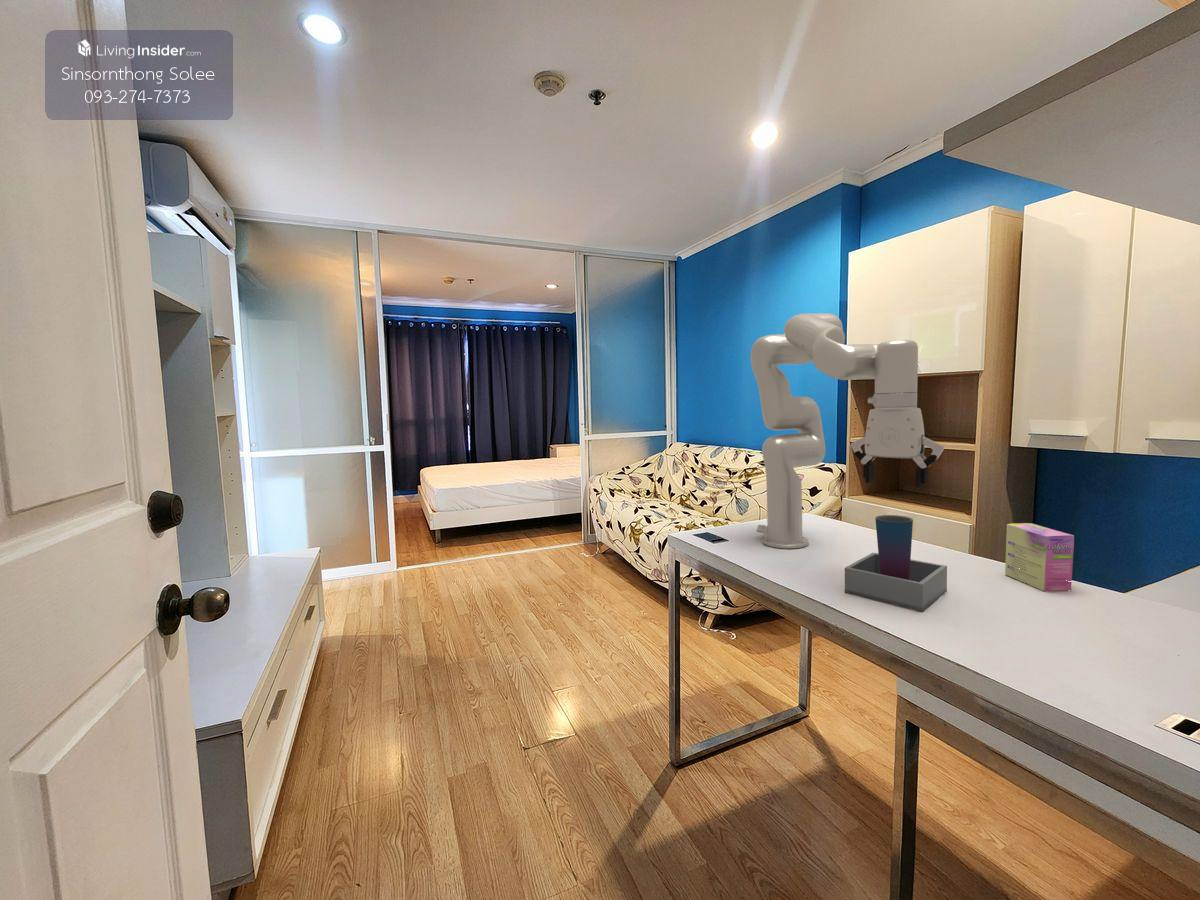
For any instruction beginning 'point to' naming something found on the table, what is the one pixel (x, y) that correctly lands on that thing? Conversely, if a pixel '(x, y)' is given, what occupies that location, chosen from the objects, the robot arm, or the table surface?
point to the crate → (897, 583)
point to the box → (1039, 556)
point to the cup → (894, 545)
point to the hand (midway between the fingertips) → (894, 484)
